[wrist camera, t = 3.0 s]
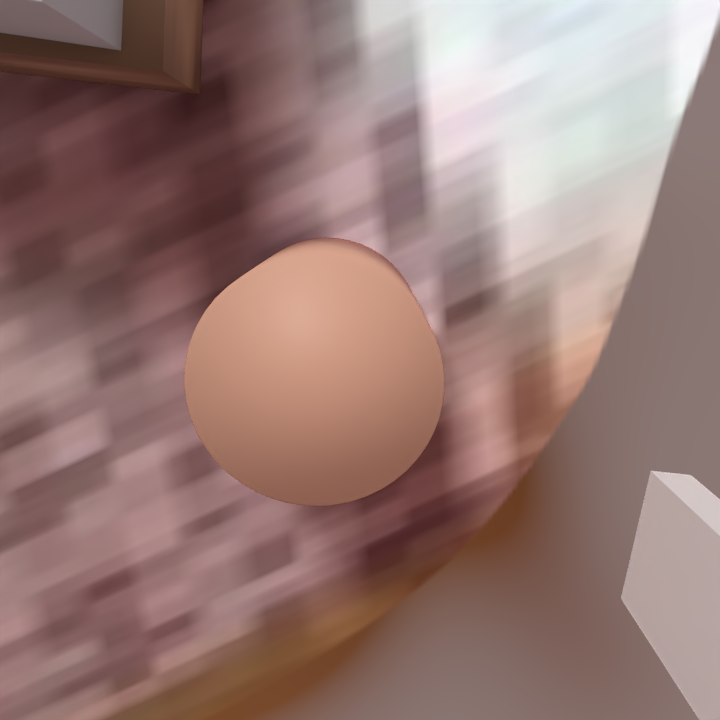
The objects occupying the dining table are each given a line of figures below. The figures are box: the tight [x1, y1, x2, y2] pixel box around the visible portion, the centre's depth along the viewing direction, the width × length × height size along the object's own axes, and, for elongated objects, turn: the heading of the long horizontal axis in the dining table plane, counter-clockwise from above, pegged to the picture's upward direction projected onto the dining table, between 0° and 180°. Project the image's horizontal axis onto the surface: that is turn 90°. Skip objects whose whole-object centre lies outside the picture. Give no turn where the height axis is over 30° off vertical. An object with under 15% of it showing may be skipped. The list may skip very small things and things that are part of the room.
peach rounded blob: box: [184, 238, 444, 506], centre depth 22 cm, size 8×8×8 cm
